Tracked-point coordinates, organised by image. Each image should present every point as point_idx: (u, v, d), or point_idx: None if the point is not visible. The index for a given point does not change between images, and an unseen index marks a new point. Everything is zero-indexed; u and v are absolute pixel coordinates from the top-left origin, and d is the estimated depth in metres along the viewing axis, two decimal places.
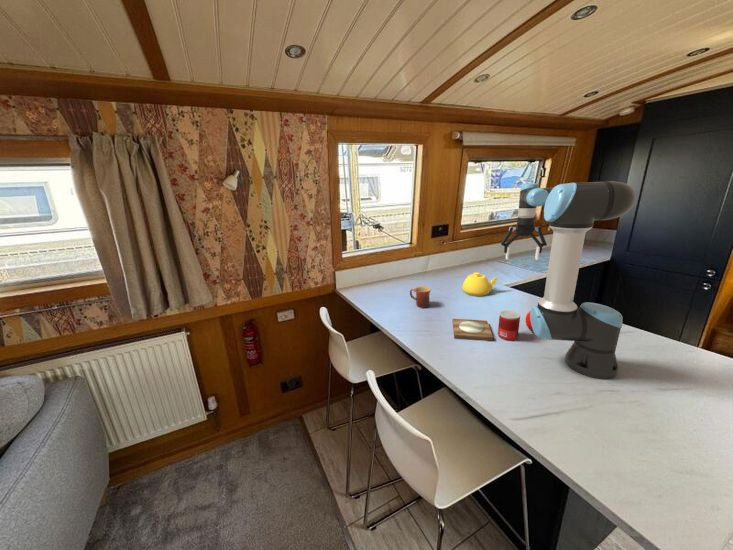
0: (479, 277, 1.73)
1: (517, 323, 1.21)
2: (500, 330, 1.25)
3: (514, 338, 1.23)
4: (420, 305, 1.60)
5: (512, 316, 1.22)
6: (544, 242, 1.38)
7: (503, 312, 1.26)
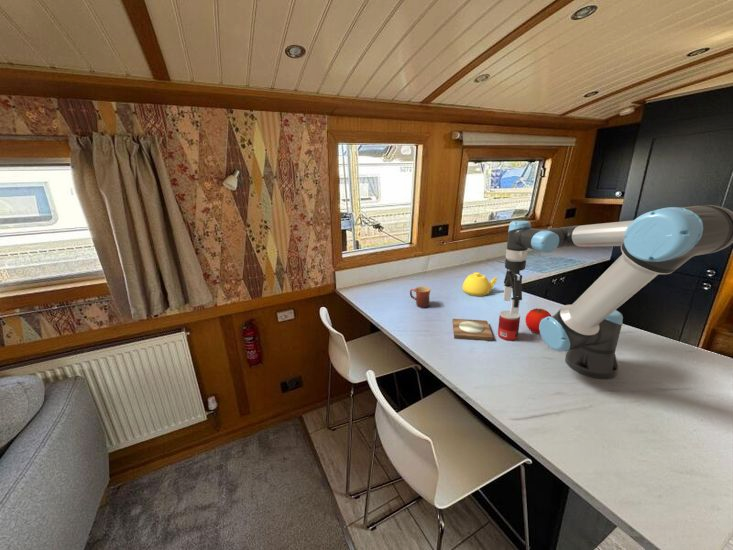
0: (479, 277, 1.73)
1: (517, 323, 1.21)
2: (500, 330, 1.25)
3: (514, 338, 1.23)
4: (420, 305, 1.60)
5: (512, 316, 1.22)
6: (514, 295, 1.12)
7: (503, 312, 1.26)
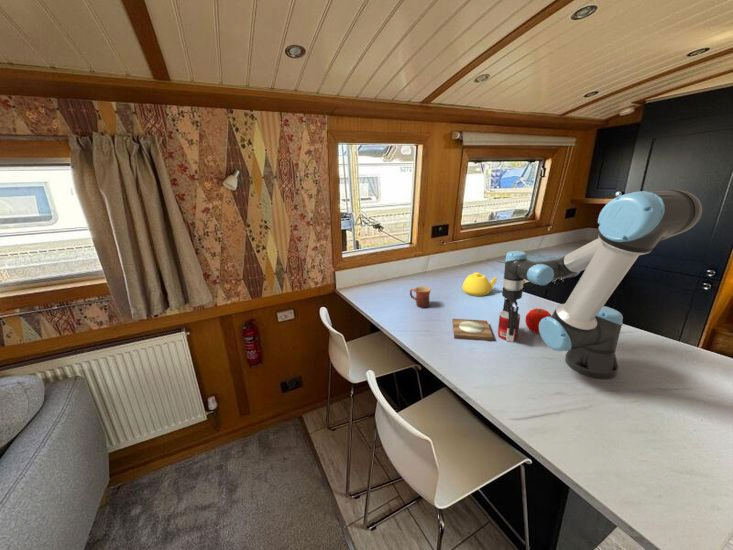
0: (479, 277, 1.73)
1: (517, 323, 1.21)
2: (500, 330, 1.25)
3: (514, 338, 1.23)
4: (420, 305, 1.60)
5: None
6: (510, 324, 1.18)
7: (503, 312, 1.26)
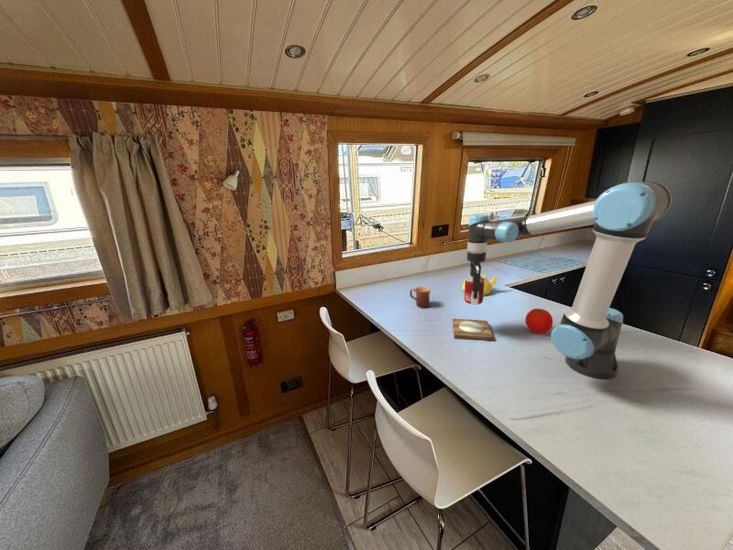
0: None
1: (481, 286, 1.23)
2: (465, 294, 1.27)
3: (479, 302, 1.25)
4: (420, 305, 1.60)
5: None
6: (473, 287, 1.20)
7: (469, 277, 1.28)
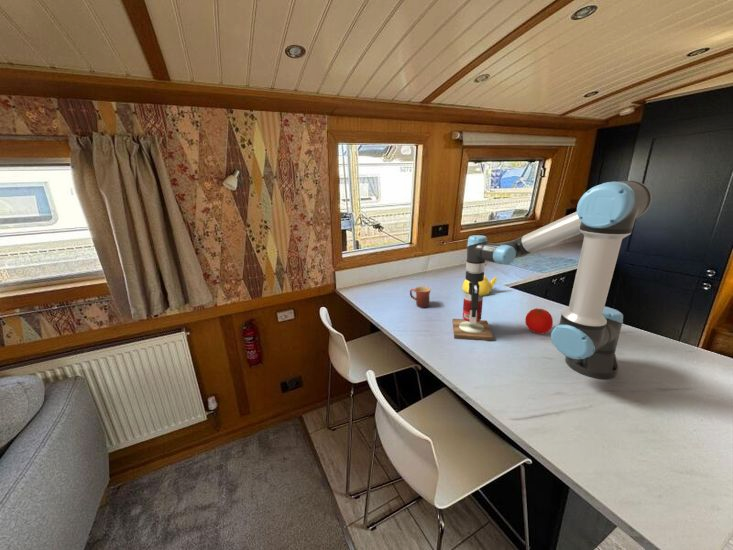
0: None
1: (479, 305, 1.26)
2: (464, 312, 1.29)
3: (477, 320, 1.27)
4: (420, 305, 1.60)
5: None
6: (471, 306, 1.23)
7: (467, 295, 1.30)
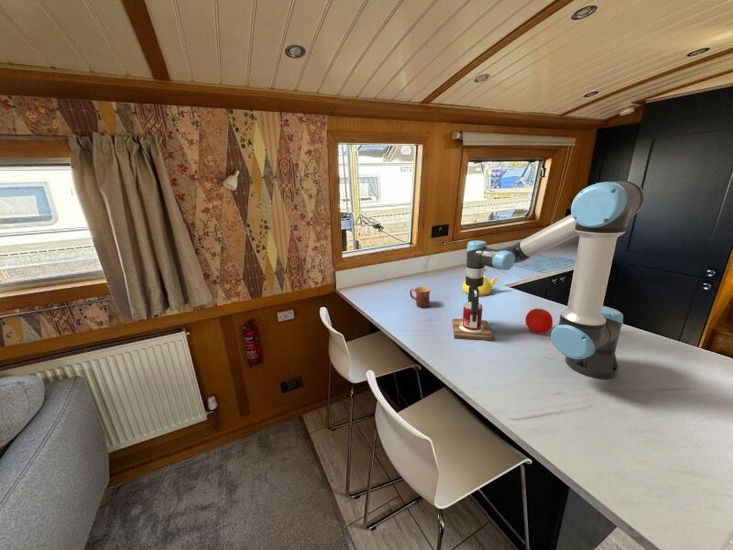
0: None
1: (479, 313, 1.27)
2: (464, 320, 1.31)
3: (477, 328, 1.29)
4: (420, 305, 1.60)
5: None
6: (472, 310, 1.22)
7: (467, 303, 1.31)
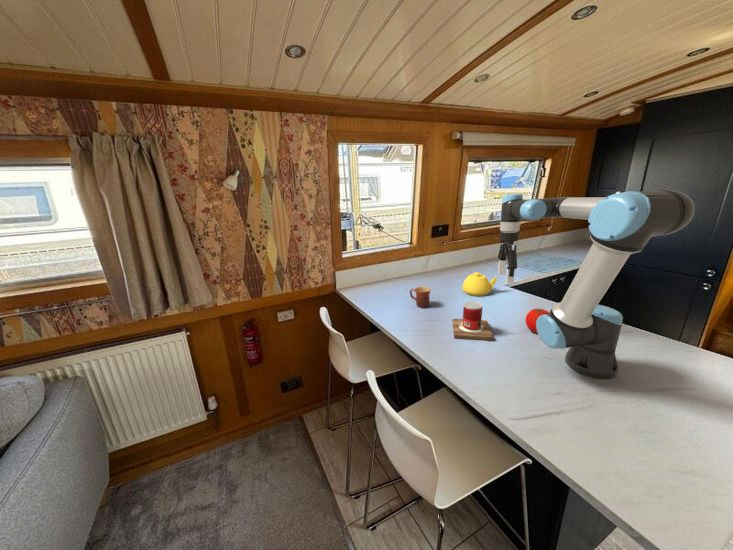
0: (479, 277, 1.73)
1: (479, 313, 1.27)
2: (464, 320, 1.31)
3: (477, 328, 1.29)
4: (420, 305, 1.60)
5: (475, 307, 1.28)
6: (510, 264, 1.18)
7: (467, 303, 1.31)
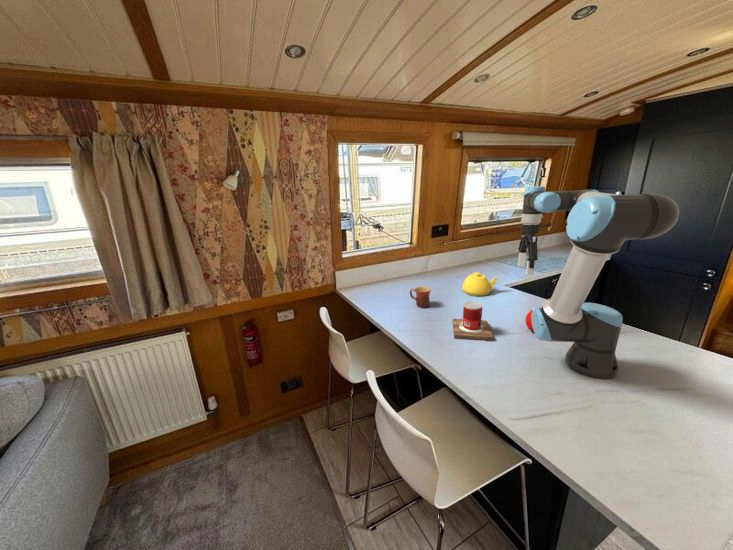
0: (479, 277, 1.73)
1: (479, 313, 1.27)
2: (464, 320, 1.31)
3: (477, 328, 1.29)
4: (420, 305, 1.60)
5: (475, 307, 1.28)
6: (530, 256, 1.19)
7: (467, 303, 1.31)
